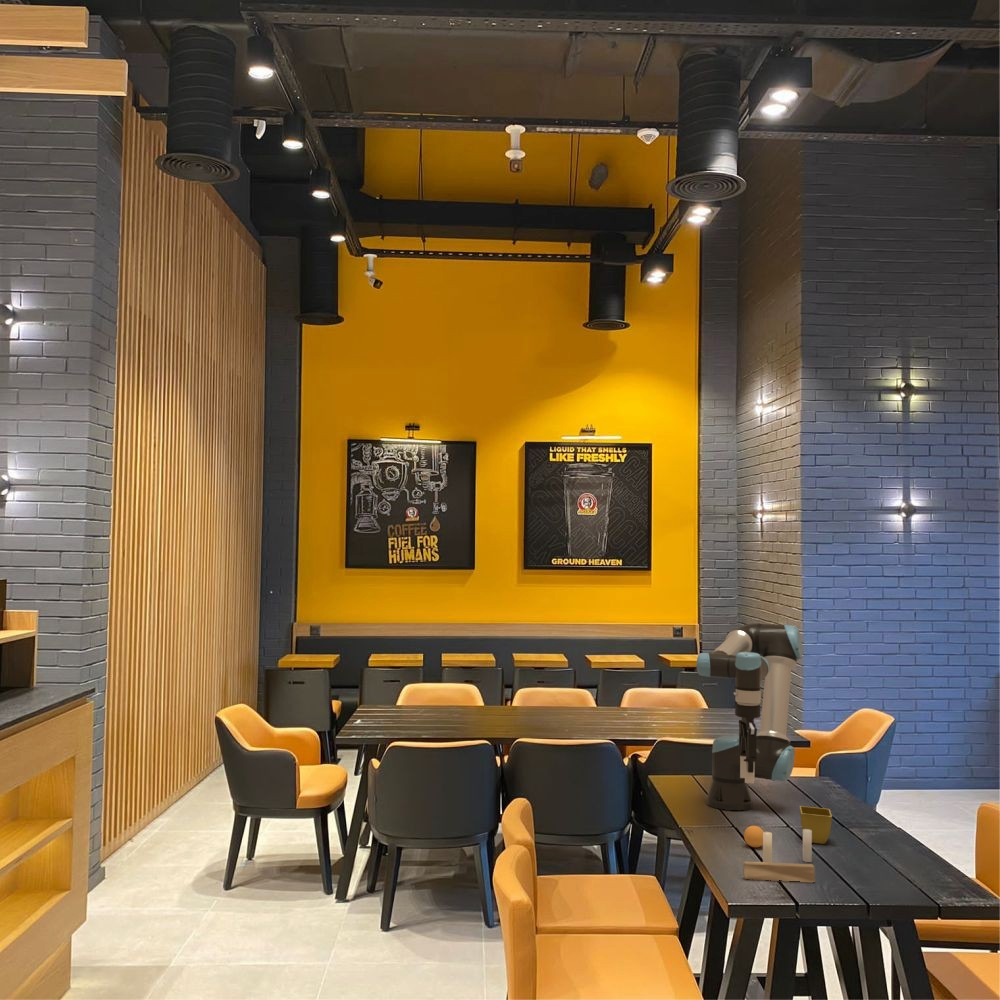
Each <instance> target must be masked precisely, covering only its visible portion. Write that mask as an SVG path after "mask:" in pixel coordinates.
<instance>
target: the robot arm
mask: <svg viewBox="0 0 1000 1000" xmlns="http://www.w3.org/2000/svg"><path fill="white" fill-rule="evenodd" d="M802 658H803V642H802V636H801V632H800V630H799V628H798V627H797V626H796V625H790V624H778V623H777V624H776V623H775V624H774V623H758V622H755V623H754V622H753V623H748V624H744V625H741V626H739V627H736V628H734V629H733V630H731V631H730V632H729V633H728V634H727V635H726V637H725V640H724V641H723V642H722V643H721V644H720V645H719V646H717V647H716V648H715V649H714V650H713V651H711V653H710V652H701V653H699V654H698V655H697V658H696V672H697V674H698V675H699V676H702V677H707V678H718V679H719V678H721V679H730V680H731V679H732V680H733V679H735V687H734V688H735V691H734V692H733V695H734V696H735V700H734V701H735V702H736V703H735V705H734V714H735V716H736V717H737V718H740V719H739V720H738V734H737V735H736V734H735V735H732V734H731V735H724V736H723V735H722V736H718V737H716V738H715V739H714V740H713V742H712V750H711V753H712V755H711V756H712V757H711V759H712V760H711V762H712V767H711V768H712V774H711V777H712V778H711V779H712V781H711V784H710V787H709V789H708V792H707V796H706V804H707V805H708V806H710V807H711V808H714V809H717V808H719V810H722V809H725V810H724V811H730V810H739V811H738V812H741V811H740V810H744V811H749V810H751V809H752V808H753V799H752V795H751V792H750V789H749V785H748V784H755V780H756V779H763V780H769V781H773V782H776V781H778V782H786V781H787V780H789V778H790V777H791V775H792V773H793V769H794V765H795V759H796V758H795V756H796V755H795V754H796V750H795V748H794V746H792V745H791V740H790V739H789V738H788V737H787V729H788V728H787V727H788V718H789V717H788V715H789V705H790V704H789V703H790V692H791V691H790V690H791V679H792V669H793V668H794V667H796V665H797V663H798V662H797V660H801V659H802ZM761 680H764V684H763V685H764V687H763V695H762V694H761V693H762V688H761ZM761 700H762V701H761ZM761 703H762V707H761V705H760V704H761ZM761 708H762V710H761ZM760 717H761V720H760V728H759V729H760V731H759V732H758V733H757V731H758V728H757V727H756V723H755V721H754V720H755V719H758V718H760ZM748 809H749V810H748Z"/></svg>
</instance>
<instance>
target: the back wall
mask: <svg viewBox="0 0 1000 1000" xmlns="http://www.w3.org/2000/svg"><path fill="white" fill-rule="evenodd" d="M742 870H743V872H742V873H743V876H744V877H743V878H745V879H751V880H750V881H765V880H769V881H770V880H771V882H780V881H779V880H782V881H781V882H789V881H800V882H799V883H813V882H815V883H816V881H815V879H816V878H815V877H816V874H815V873H816V867H815V865H814V864H812V863H792V862H791V863H788V862H787V863H786V862H784V863H783V862H772V863H767V862H763V861H743V869H742ZM745 879H744V880H745ZM752 879H753V880H752ZM769 881H768V882H769Z"/></svg>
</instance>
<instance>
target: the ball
mask: <svg viewBox="0 0 1000 1000" xmlns="http://www.w3.org/2000/svg"><path fill="white" fill-rule="evenodd" d="M763 832H765V831H764V830H763V829H762V828H761V827H760V826H758V825H750V826H748V827H747V828H746V829H745V830H744V833H743V839H744V840H745V841H744V842H745V843H746V845H748V846H750V847H751V848H760V847H763Z"/></svg>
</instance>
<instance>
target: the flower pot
mask: <svg viewBox="0 0 1000 1000" xmlns="http://www.w3.org/2000/svg"><path fill="white" fill-rule="evenodd" d="M799 816H800V824H801V830H802V832H803V829H809V830H812V843H813V844H821V845H824V844H826V843H827V841H828V839H829V836H830V834H831V829H832V821H833V815H832V811H831V810H830V808H824V807H823V808H822V807H814V806H806V805H805V806H803V805H799Z"/></svg>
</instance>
